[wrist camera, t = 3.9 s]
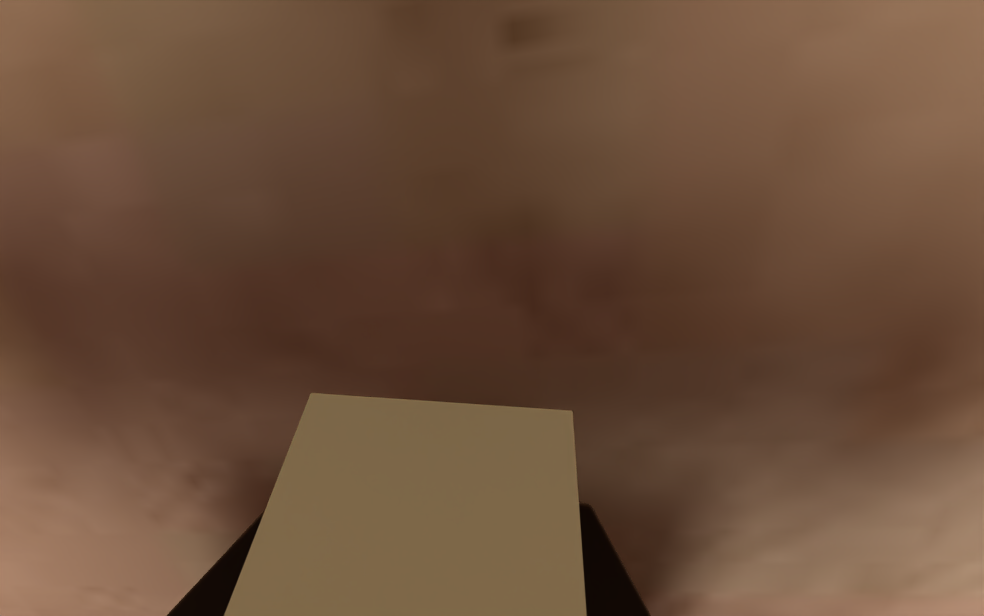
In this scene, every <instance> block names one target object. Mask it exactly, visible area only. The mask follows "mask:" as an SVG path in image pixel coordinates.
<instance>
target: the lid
mask: <svg viewBox="0 0 984 616" xmlns="http://www.w3.org/2000/svg"><path fill="white" fill-rule="evenodd" d="M224 616H587V614H586V600H585V585H584V570H583V556H582V541H581V526H580V512H579V497H578V483H577V468H576V453H575V439H574V424H573V411H570V410H555V409H541V408H526V407H511V406H497V405H482V404H467V403H453V402H438V401H423V400H408V399H394V398H379V397H364V396H350V395H335V394H320V393H310V396H309V399H308V401H307V404H306V406H305V409H304V411H303V414H302V417H301V419H300V422H299V424H298V427H297V429H296V432H295V435H294V437H293V440H292V442H291V445H290V447H289V450H288V453H287V455H286V458H285V460H284V463H283V465H282V468H281V471H280V473H279V476H278V478H277V481H276V483H275V486H274V489H273V491H272V494H271V496H270V499H269V501H268V504H267V506H266V509H265V512H264V514H263V517H262V519H261V522H260V524H259V527H258V530H257V532H256V535H255V537H254V540H253V542H252V545H251V548H250V550H249V553H248V555H247V558H246V560H245V563H244V566H243V568H242V571H241V573H240V576H239V578H238V581H237V584H236V586H235V589H234V591H233V594H232V596H231V599H230V602H229V604H228V607H227V609H226V612H225V614H224Z"/></svg>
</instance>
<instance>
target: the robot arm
mask: <svg viewBox="0 0 984 616" xmlns="http://www.w3.org/2000/svg"><path fill="white" fill-rule="evenodd" d="M264 512H265V511H264ZM264 512H263V513H262V514H261V515H260V516H259V517H258V518H257V519H256V521H255V522H254V523H253V524H252V525H251V526H250V527H249V528H248V529H247V530H246V531H245V532H244V533H243V534H242V536H241V537H240V538H239V539H238V540H237V541H236V542H235V543H234V544H233V545H232V546H231V547H230V548H229V549H228V550H227V552H226V553H225V554H224V555H223V556H222V557H221V558H220V559H219V560H218V561H217V562H216V563H215V564H214V565H213V567H212V568H211V569H210V570H209V571H208V572H207V573H206V574H205V575H204V576H203V577H202V578H201V579H200V580H199V582H198V583H197V584H196V585H195V586H194V587H193V588H192V589H191V590H190V591H189V592H188V593H187V594H186V595H185V596H184V598H183V599H182V600H181V601H180V602H179V603H178V604H177V605H176V606H175V607H174V608H173V609H172V610H171V611H170V613H169V614H168V615H167V616H224V614H225V612H226V609H227V607H228V604H229V602H230V599H231V596H232V594H233V591H234V589H235V586H236V584H237V581H238V578H239V576H240V573H241V571H242V568H243V566H244V563H245V560H246V558H247V555H248V553H249V550H250V548H251V545H252V542H253V540H254V537H255V535H256V532H257V530H258V527H259V524H260V522H261V519H262V517H263V514H264ZM579 512H580V526H581V541H582V556H583V570H584V585H585V600H586V614H587V616H651V615H650V613H649V611H648V609H647V607H646V606H645V604H644V602H643V600H642V598H641V596H640V595H639V593H638V591H637V589H636V587H635V585H634V583H633V582H632V580H631V578H630V576H629V574H628V572H627V570H626V569H625V567H624V565H623V563H622V561H621V559H620V558H619V556H618V554H617V552H616V550H615V548H614V546H613V545H612V543H611V541H610V539H609V537H608V535H607V534H606V532H605V530H604V528H603V526H602V524H601V522H600V521H599V519H598V517H597V515H596V513H595V511H594V510H593V508H592V507H591V506H590V505H589V504H587V503H580V502H579Z"/></svg>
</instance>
